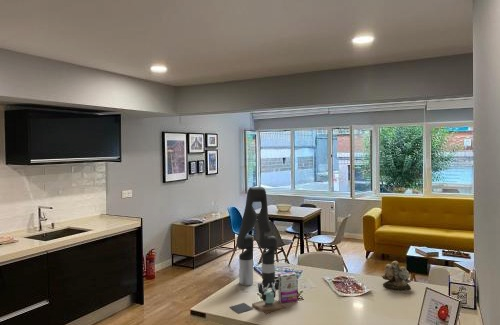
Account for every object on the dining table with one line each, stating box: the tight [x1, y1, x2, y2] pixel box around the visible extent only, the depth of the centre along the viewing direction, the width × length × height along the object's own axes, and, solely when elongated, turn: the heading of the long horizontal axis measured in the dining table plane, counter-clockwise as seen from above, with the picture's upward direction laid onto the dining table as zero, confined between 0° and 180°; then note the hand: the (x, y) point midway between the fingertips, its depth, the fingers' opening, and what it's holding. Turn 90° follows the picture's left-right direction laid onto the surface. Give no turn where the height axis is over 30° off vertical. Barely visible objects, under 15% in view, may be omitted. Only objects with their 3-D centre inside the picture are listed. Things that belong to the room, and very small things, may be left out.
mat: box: [229, 302, 254, 314], centre depth 216 cm, size 10×10×1 cm
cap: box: [264, 290, 275, 303], centre depth 217 cm, size 6×6×6 cm
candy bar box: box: [277, 271, 299, 304], centre depth 226 cm, size 11×5×16 cm, turn 105°
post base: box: [251, 299, 287, 315], centre depth 217 cm, size 14×14×8 cm
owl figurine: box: [381, 260, 412, 291], centre depth 245 cm, size 18×12×17 cm, turn 79°
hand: (268, 299), depth 217 cm, fingers closed on cap, 6 cm apart
